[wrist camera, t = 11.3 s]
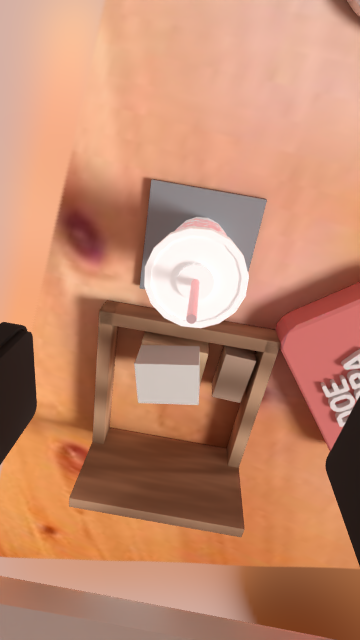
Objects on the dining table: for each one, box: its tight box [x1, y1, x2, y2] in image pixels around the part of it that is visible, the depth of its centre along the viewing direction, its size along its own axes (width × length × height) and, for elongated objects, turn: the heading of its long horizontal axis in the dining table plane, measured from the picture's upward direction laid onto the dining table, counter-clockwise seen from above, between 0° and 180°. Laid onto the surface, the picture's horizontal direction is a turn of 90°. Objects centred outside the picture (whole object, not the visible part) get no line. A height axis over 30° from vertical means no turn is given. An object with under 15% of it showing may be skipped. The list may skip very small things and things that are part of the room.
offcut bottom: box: [141, 331, 209, 387], centre depth 31 cm, size 4×6×3 cm, turn 79°
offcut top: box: [134, 345, 200, 405], centre depth 29 cm, size 4×5×3 cm
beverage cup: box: [144, 217, 249, 328], centre depth 21 cm, size 6×6×14 cm
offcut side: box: [212, 345, 256, 403], centre depth 32 cm, size 5×3×2 cm, turn 168°
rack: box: [69, 300, 281, 537], centre depth 30 cm, size 17×16×9 cm
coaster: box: [140, 179, 267, 289], centre depth 28 cm, size 9×9×1 cm
